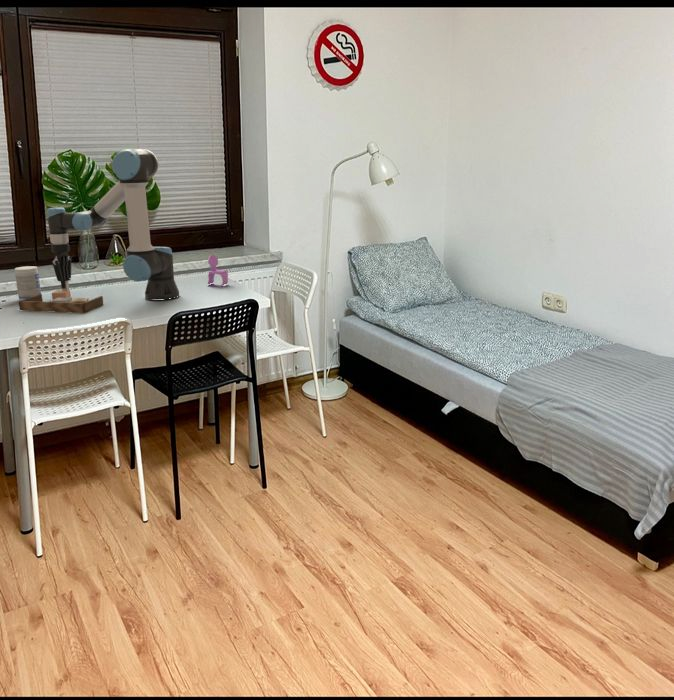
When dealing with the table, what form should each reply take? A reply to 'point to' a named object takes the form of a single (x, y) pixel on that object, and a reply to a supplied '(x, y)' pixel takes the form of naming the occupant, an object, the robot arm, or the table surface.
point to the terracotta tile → (61, 294)
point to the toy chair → (213, 263)
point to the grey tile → (62, 300)
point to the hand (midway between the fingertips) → (66, 295)
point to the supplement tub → (27, 282)
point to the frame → (59, 305)
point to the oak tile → (80, 300)
